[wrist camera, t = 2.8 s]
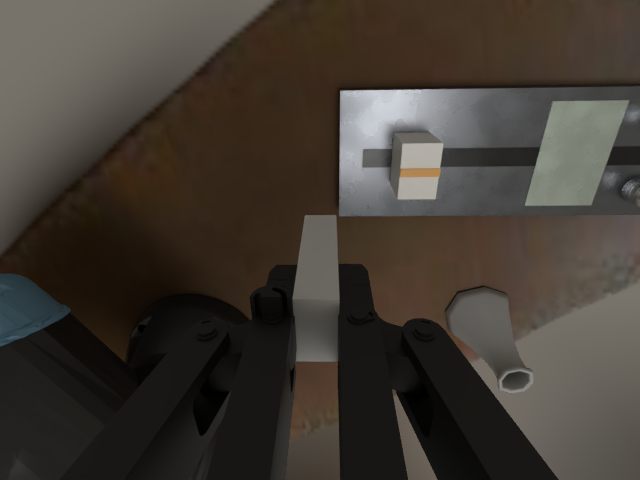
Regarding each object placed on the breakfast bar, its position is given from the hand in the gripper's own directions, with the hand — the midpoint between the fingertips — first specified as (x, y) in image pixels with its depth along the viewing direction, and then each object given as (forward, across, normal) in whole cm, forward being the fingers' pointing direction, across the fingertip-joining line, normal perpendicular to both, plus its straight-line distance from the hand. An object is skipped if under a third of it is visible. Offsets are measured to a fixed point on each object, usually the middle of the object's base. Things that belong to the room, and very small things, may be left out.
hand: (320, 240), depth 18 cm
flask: (+18, +17, -19) cm, 31 cm away
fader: (+15, +7, 0) cm, 17 cm away
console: (+18, +15, 0) cm, 23 cm away
